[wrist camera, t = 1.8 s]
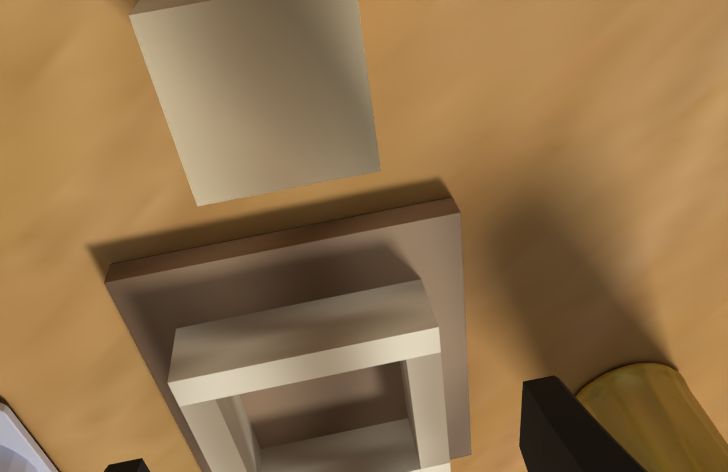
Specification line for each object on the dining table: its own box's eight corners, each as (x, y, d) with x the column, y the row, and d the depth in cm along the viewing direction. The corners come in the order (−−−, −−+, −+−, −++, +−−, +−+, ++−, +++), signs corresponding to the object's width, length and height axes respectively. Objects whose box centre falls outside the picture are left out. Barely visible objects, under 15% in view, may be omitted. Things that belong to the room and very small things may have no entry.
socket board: (222, 489, 28) (218, 563, 25) (110, 264, 20) (86, 336, 17) (465, 437, 29) (488, 504, 26) (452, 197, 21) (483, 256, 18)
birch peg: (214, 99, 17) (197, 206, 13) (170, -47, 15) (128, 14, 10) (346, 75, 18) (381, 171, 13) (323, -74, 15) (354, -25, 10)
